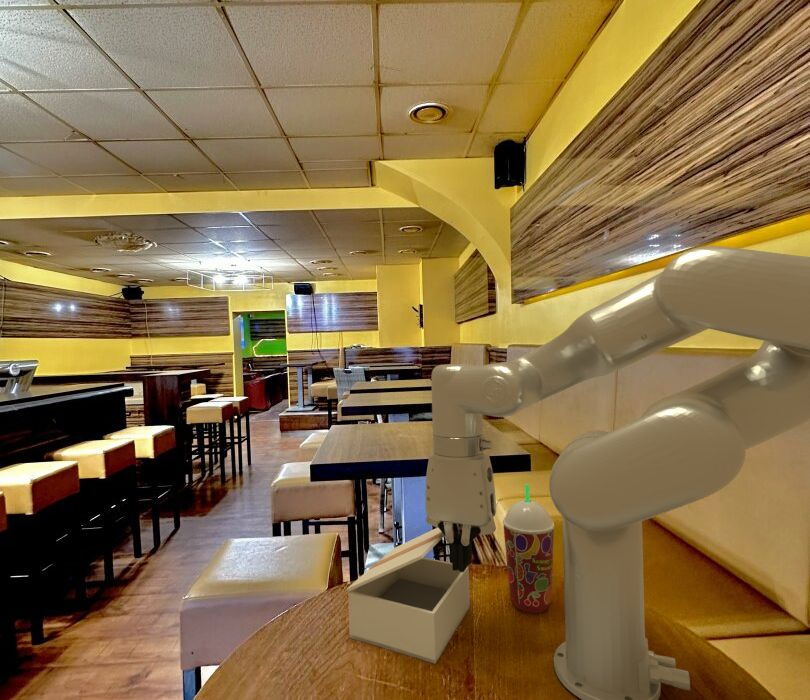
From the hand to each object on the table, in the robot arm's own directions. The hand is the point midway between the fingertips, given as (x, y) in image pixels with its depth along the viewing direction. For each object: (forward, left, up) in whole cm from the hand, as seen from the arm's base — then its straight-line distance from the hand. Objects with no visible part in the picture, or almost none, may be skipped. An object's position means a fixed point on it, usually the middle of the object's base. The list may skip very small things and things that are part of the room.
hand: (461, 567), depth 68 cm
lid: (+9, 0, 0) cm, 9 cm away
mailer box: (+8, 0, -10) cm, 13 cm away
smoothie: (-8, -12, -10) cm, 18 cm away
